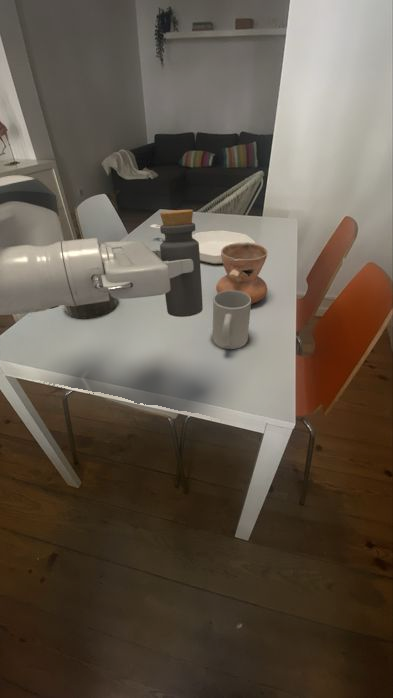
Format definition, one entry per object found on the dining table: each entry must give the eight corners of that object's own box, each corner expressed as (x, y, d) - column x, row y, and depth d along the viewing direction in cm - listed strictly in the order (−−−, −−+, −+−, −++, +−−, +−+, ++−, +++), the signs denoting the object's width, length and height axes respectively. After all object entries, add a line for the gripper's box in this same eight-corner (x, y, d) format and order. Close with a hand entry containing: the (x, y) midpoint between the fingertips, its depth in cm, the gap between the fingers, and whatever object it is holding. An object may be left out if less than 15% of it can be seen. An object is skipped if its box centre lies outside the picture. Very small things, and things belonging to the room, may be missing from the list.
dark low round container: (55, 313, 88) (50, 299, 85) (86, 290, 98) (83, 277, 96) (98, 323, 84) (94, 308, 81) (126, 298, 94) (124, 284, 91)
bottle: (204, 304, 54) (199, 208, 47) (200, 317, 49) (193, 211, 42) (171, 305, 55) (161, 210, 48) (163, 317, 50) (151, 213, 43)
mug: (216, 327, 81) (216, 288, 74) (249, 331, 79) (253, 291, 73) (205, 356, 72) (205, 314, 65) (243, 361, 70) (247, 319, 63)
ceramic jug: (256, 316, 84) (262, 266, 76) (206, 306, 89) (206, 257, 81) (273, 288, 97) (279, 241, 88) (228, 280, 102) (230, 235, 93)
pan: (234, 272, 107) (235, 253, 103) (134, 249, 125) (131, 233, 121) (262, 247, 124) (264, 231, 120) (170, 231, 142) (169, 216, 138)
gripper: (87, 264, 35) (207, 249, 38) (85, 238, 52) (167, 229, 55) (99, 317, 38) (209, 299, 41) (93, 276, 55) (171, 266, 58)
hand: (185, 259), depth 48 cm, fingers closed on bottle, 6 cm apart
